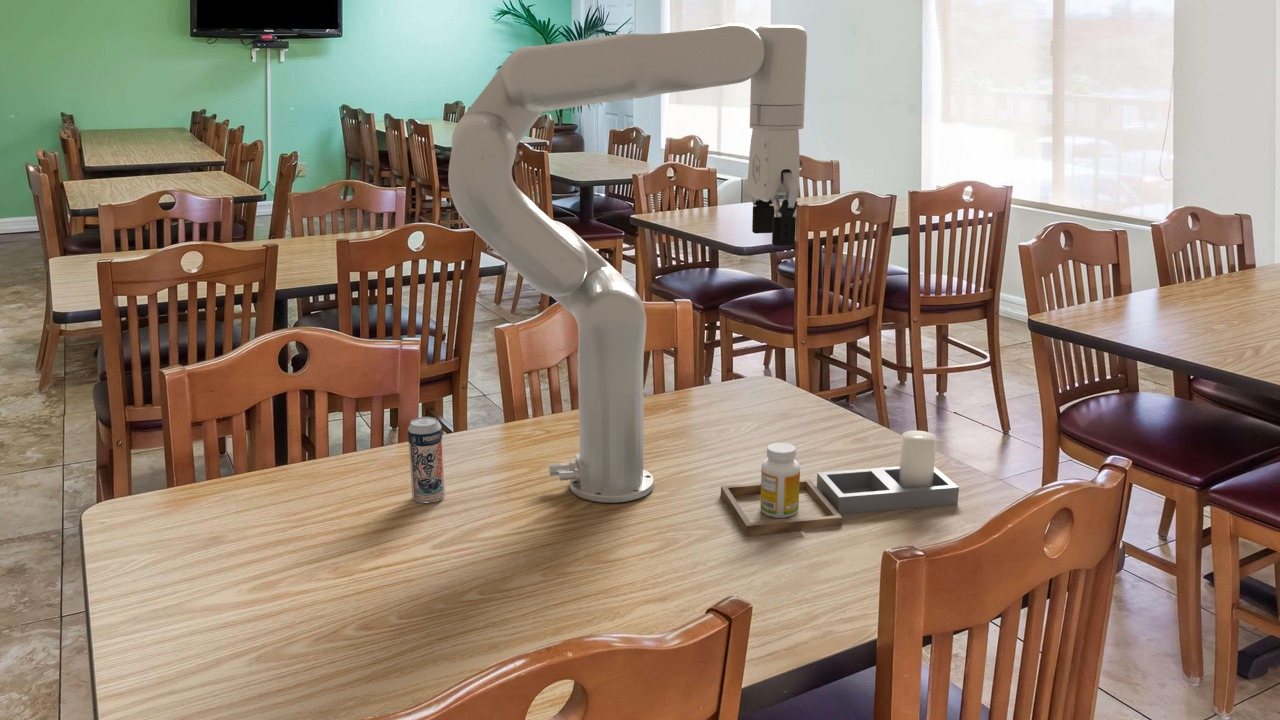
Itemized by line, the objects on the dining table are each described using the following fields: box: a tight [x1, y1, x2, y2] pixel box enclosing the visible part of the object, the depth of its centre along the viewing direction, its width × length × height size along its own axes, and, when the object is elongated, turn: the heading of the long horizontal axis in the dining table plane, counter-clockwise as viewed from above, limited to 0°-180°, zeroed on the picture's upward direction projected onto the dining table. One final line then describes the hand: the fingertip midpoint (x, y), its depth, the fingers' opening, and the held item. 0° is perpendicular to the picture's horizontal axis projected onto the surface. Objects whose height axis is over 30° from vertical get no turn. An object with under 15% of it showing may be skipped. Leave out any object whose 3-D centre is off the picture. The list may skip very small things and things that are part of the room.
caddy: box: [816, 465, 960, 515], centre depth 158 cm, size 18×9×3 cm, turn 100°
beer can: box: [407, 416, 447, 503], centre depth 157 cm, size 5×5×12 cm
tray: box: [720, 478, 843, 537], centre depth 154 cm, size 14×14×2 cm
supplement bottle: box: [760, 442, 801, 519], centre depth 153 cm, size 5×5×10 cm
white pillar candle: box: [899, 430, 937, 489], centre depth 157 cm, size 5×5×9 cm
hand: (772, 238), depth 156 cm, fingers open, 9 cm apart
